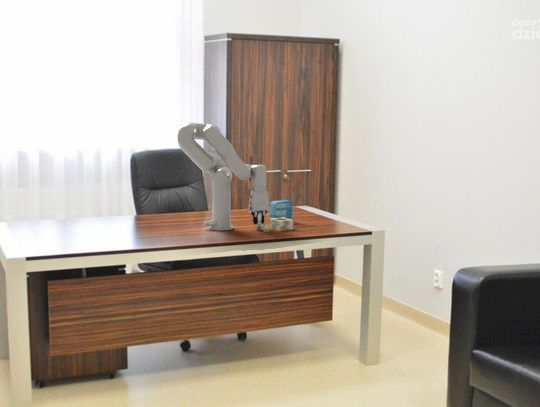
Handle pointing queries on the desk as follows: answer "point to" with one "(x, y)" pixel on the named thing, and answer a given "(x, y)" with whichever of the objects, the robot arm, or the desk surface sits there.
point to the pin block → (281, 224)
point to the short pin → (266, 228)
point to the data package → (281, 209)
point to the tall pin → (259, 220)
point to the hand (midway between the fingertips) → (258, 223)
